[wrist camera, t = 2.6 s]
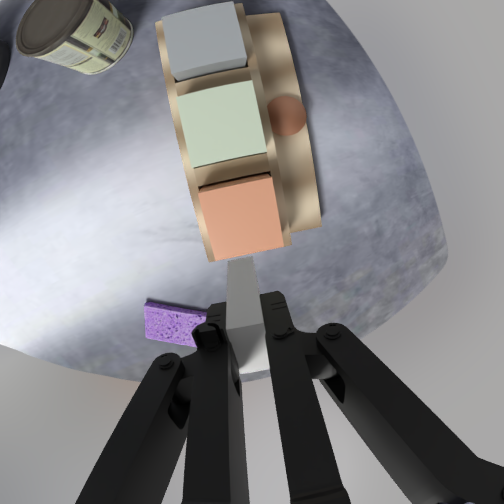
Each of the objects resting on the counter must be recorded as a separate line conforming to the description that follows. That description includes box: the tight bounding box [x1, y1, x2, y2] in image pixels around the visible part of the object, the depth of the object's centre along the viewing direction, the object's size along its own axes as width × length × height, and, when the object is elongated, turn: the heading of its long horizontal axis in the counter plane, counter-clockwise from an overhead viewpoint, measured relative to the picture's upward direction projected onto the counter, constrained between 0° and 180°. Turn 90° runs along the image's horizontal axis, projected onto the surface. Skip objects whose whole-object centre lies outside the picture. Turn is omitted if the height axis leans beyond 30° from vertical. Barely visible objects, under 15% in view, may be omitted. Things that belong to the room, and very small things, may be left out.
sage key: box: [176, 80, 267, 168], centre depth 26 cm, size 7×7×5 cm
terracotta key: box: [198, 172, 284, 261], centre depth 30 cm, size 7×7×5 cm
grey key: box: [161, 1, 247, 82], centre depth 22 cm, size 7×7×5 cm
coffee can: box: [16, 0, 133, 74], centre depth 18 cm, size 10×10×14 cm
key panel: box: [155, 3, 322, 262], centre depth 29 cm, size 30×15×6 cm, turn 11°
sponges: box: [144, 302, 207, 347], centre depth 42 cm, size 7×13×2 cm, turn 78°
